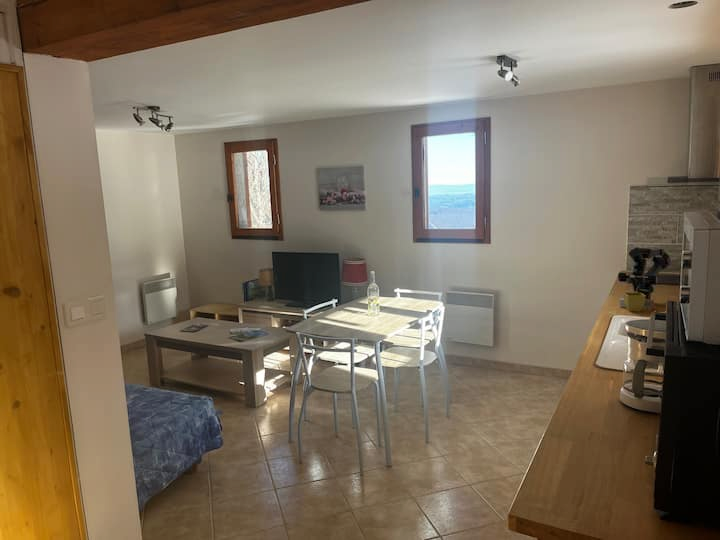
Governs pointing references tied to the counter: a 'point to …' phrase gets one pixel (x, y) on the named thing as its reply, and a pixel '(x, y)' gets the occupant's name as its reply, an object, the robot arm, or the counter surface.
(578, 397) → the counter surface
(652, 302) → the walnut block
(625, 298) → the flower pot
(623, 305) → the grey block
